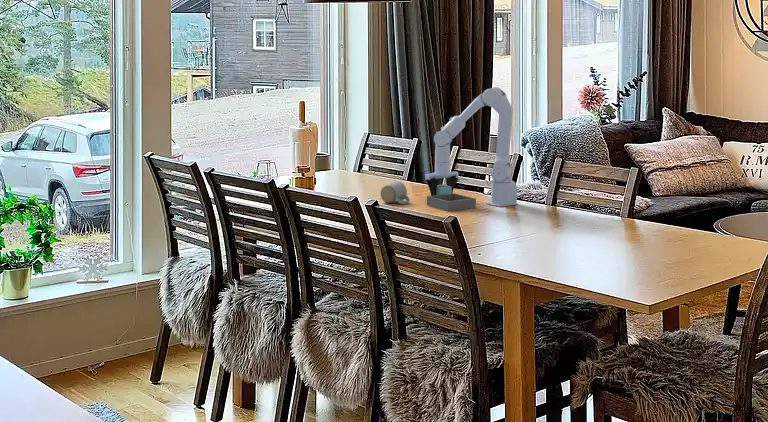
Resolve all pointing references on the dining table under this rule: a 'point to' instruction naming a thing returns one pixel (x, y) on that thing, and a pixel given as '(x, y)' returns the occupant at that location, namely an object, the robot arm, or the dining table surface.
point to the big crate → (451, 202)
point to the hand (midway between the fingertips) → (441, 196)
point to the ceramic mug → (394, 193)
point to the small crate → (443, 189)
